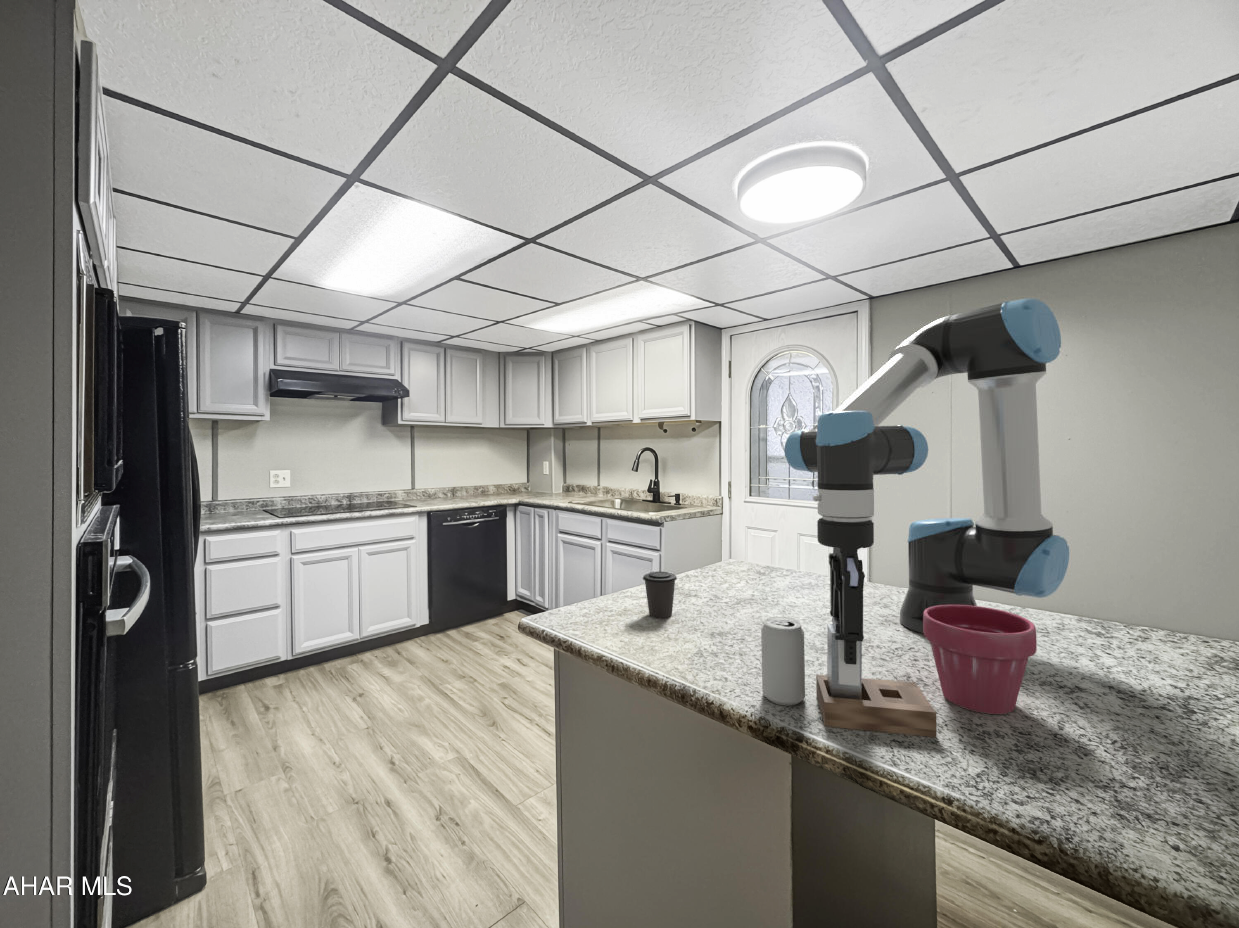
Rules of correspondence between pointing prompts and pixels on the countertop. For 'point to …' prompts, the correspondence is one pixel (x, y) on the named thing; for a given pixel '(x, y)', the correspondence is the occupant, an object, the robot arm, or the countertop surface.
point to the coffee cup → (660, 593)
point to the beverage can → (783, 661)
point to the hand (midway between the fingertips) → (845, 676)
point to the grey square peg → (832, 667)
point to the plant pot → (979, 654)
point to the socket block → (879, 708)
